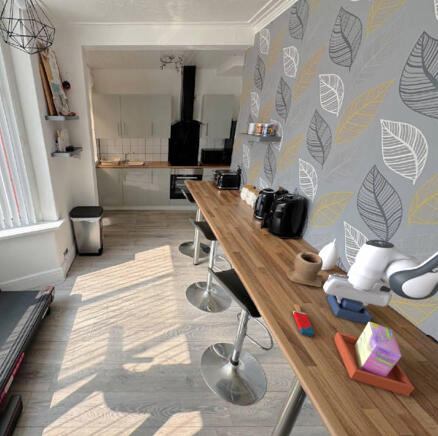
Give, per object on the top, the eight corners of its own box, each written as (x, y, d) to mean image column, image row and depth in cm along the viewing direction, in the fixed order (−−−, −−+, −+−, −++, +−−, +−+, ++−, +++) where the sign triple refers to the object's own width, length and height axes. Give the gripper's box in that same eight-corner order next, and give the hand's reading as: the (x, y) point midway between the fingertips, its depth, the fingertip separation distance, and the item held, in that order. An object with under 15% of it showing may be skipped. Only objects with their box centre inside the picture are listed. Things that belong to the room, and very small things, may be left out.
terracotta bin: (381, 351, 79) (385, 344, 77) (408, 396, 66) (414, 388, 65) (333, 338, 83) (337, 331, 81) (350, 378, 70) (355, 370, 69)
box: (383, 382, 69) (402, 355, 64) (358, 371, 72) (375, 344, 67) (375, 355, 77) (392, 329, 72) (353, 346, 80) (368, 320, 75)
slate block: (351, 306, 97) (356, 297, 95) (356, 315, 93) (361, 306, 90) (337, 303, 98) (341, 294, 96) (341, 312, 94) (346, 302, 92)
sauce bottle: (328, 266, 125) (340, 236, 117) (335, 274, 118) (348, 243, 110) (311, 263, 126) (323, 234, 119) (317, 272, 119) (330, 241, 112)
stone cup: (288, 285, 109) (297, 257, 103) (284, 270, 119) (293, 245, 113) (326, 294, 104) (338, 266, 98) (319, 278, 114) (330, 252, 108)
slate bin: (356, 305, 99) (359, 298, 97) (368, 324, 89) (372, 317, 88) (327, 298, 102) (329, 292, 100) (335, 316, 93) (339, 309, 91)
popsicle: (303, 304, 96) (315, 334, 83) (302, 307, 96) (314, 337, 83) (290, 302, 97) (301, 331, 84) (289, 304, 98) (300, 333, 84)
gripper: (333, 277, 89) (320, 304, 95) (400, 291, 83) (382, 319, 89) (327, 268, 95) (316, 294, 101) (390, 280, 89) (374, 308, 95)
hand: (348, 306), depth 95 cm, fingers closed on slate block, 5 cm apart
